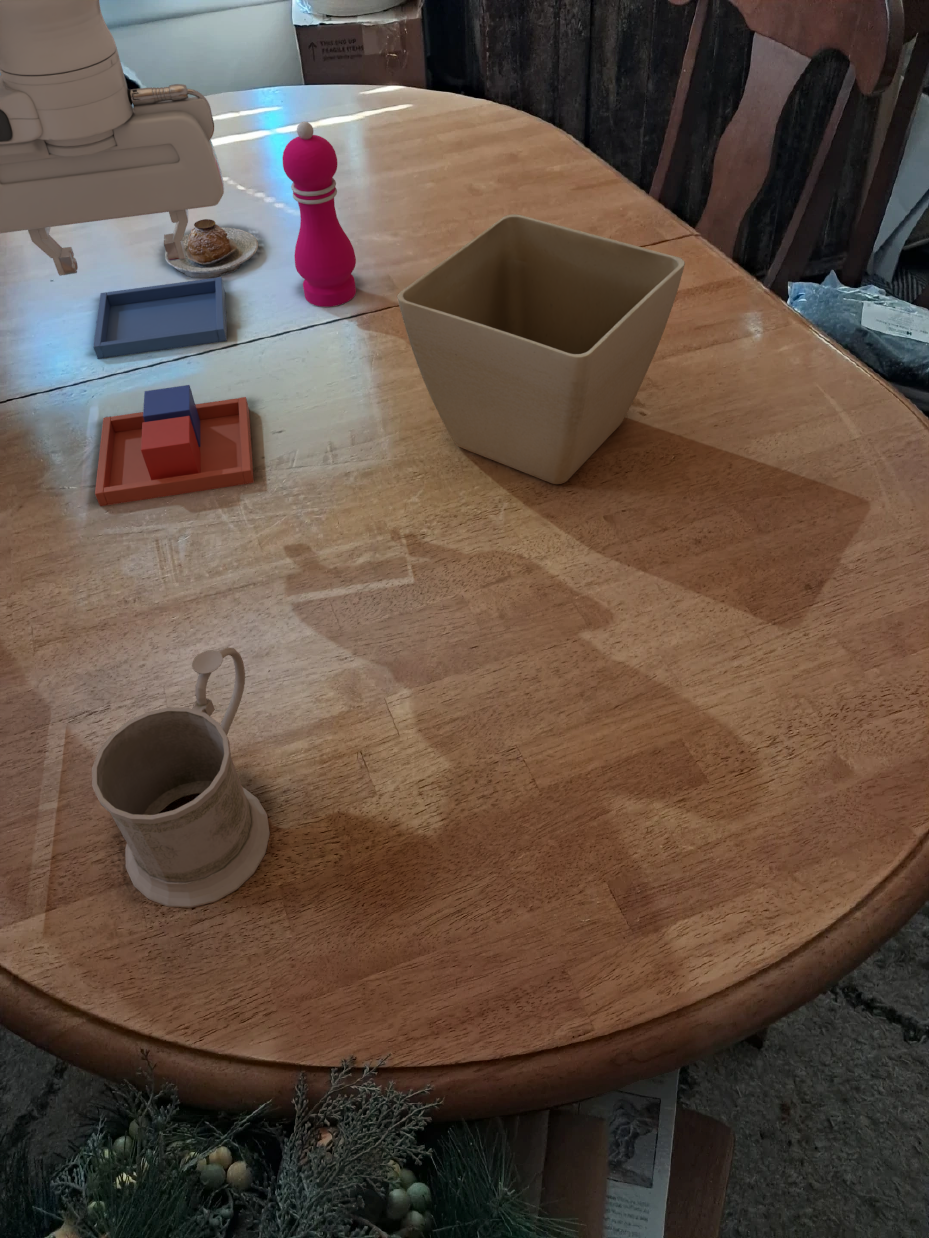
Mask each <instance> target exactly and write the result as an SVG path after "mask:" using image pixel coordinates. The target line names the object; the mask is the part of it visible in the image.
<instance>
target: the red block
mask: <svg viewBox="0 0 929 1238" xmlns="http://www.w3.org/2000/svg"><path fill="white" fill-rule="evenodd" d="M141 452H142V455H143V458H144V461H145V463H146V466H147V469H148V472H149V475H150V478H151V480H157V479H164V478H170V477H177V476H183V475H190V474H196V473H201V453H200V449H199V446H198V443H197V439H196V436H195V433H194V429H193V426H192V423H191V419H190V416H184V417H177V418H170V419H164V420H157V421H150V422H143V423H142V439H141Z"/></svg>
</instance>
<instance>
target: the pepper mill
mask: <svg viewBox="0 0 929 1238" xmlns="http://www.w3.org/2000/svg"><path fill="white" fill-rule="evenodd" d="M296 133H297V136H295V138H292V139H291V140H289V142H288V143H287V144H286V146H285V148H284V149H283V152H282V168H283V171H284V174H285V175H286V176H287V178H288V179H289V180H290V181H291V182H292V183H291V186H290V187H291V191H292V198H293V200H294V201H295V202H297V205H298V208H299V216H300V217H299V218H300V221H299V223H300V225H299V231H298V234H297V239H296V243H295V247H294V266H295V270H296V272H297V273H298V274H299V276H300V277H301V278H302V279H304V280H303V281H302V289H303V294H304V299H305V300H306V301H307V302H308V303H309V304H311V305H312V306H315V307H321V308H332V307H333V308H334V307H336V306H341V305H343V304H346V303H348V302H350V301H352V300H353V299H354V297H355V296H356V293H357V288H356V281H355V277H354V275H353V274H352V273H353V271H354V270H355V267H356V265H357V258H356V252H355V249H354V247H353V244H352V242H351V240H350V239H349V236H348V235H347V234H346V233H345V231H344V229H343V227H342V225H341V223H340V221H339V218H338V216H337V215H338V214H337V211H336V205H335V197H336V196H337V194H338V189H337V188H336V185H337V182H336V180H335V178H334V176H335V175H336V173H337V170H338V156H337V153H336V150H335V148H334V146H333V145H332V143H330V141H328V140H327V139H326V138H324V137H322V136H320V135H317V134H314V127H313V125H312V124H311V123H310V122H308V121H301V122H299V124H298V125H297V127H296Z"/></svg>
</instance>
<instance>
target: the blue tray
mask: <svg viewBox="0 0 929 1238" xmlns="http://www.w3.org/2000/svg"><path fill="white" fill-rule="evenodd" d="M226 298H227V297H226V288H225V285H224V282H223V277H222V276H217V277H209V278H201V279H196V280H188V281H180V282H172V283H164V284H158V285H149V286H142V287H138V288H137V287H136V288H128V289H127V288H126V289H120V290H112V291H107V292H106V291H105V292H100V295H99V302H98V308H97V315H96V323H95V330H94V331H95V332H94V339H93V346H92V347H93V350H94V353H95V356H96V359H97V360H102V359H109V358H116V357H121V356H122V357H123V356H129V355H136V354H138V355H139V354H144V353H151V352H158V351H166V350H172V349H180V348H186V347H194V346H202V345H208V344H209V345H210V344H216V343H223V342H228V339H227V331H228V325H227V304H226V303H227V301H226V300H227V299H226Z"/></svg>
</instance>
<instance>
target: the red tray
mask: <svg viewBox="0 0 929 1238" xmlns="http://www.w3.org/2000/svg"><path fill="white" fill-rule="evenodd" d="M247 399H248V398H247V396H241V397H237V398H228V399H222V400H217V401H216V400H215V401H209V402H202V403H195V405H196V408H197V412H198V415H199V419H200V447H199V449H200V453H201V473H196V474H190V475H183V476H177V477H170V478H164V479H157V480H151V478H150V475H149V472H148V469H147V466H146V463H145V461H144V458H143V455H142V452H141V439H142V423H143V422H145V421H144V418H143V411H140V412H134V413H126V414H119V415H112V416H106V417H105V416H104V417H102V424H101V425H102V427H101V435H100V444H99V453H98V462H97V471H96V480H95V490H94V496H95V498H96V500H97V502H98V503H97V504H98V505H99V507H106V506H111V505H118V504H126V503H132V502H138V501H145V500H151V499H152V500H153V499H158V498H165V497H172V496H177V495H183V494H192V493H197V492H203V491H210V490H217V489H224V488H229V487H237V486H242V485H243V486H244V485H249V484H254V482H255V479H254V466H253V465H254V464H253V450H252V433H251V420H250V407H249V404H248V400H247Z"/></svg>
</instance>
